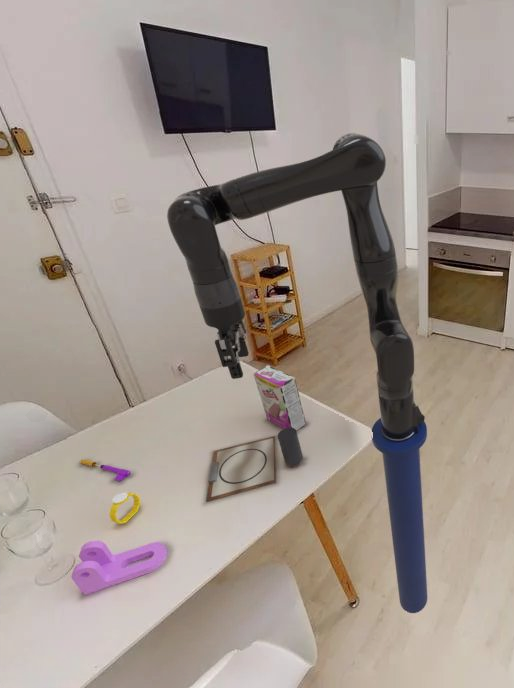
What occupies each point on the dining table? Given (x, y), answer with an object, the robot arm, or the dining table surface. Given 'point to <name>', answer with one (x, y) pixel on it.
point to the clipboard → (242, 468)
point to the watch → (120, 500)
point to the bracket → (114, 565)
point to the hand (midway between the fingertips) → (241, 366)
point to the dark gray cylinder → (290, 446)
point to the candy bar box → (280, 398)
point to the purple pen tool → (109, 469)
